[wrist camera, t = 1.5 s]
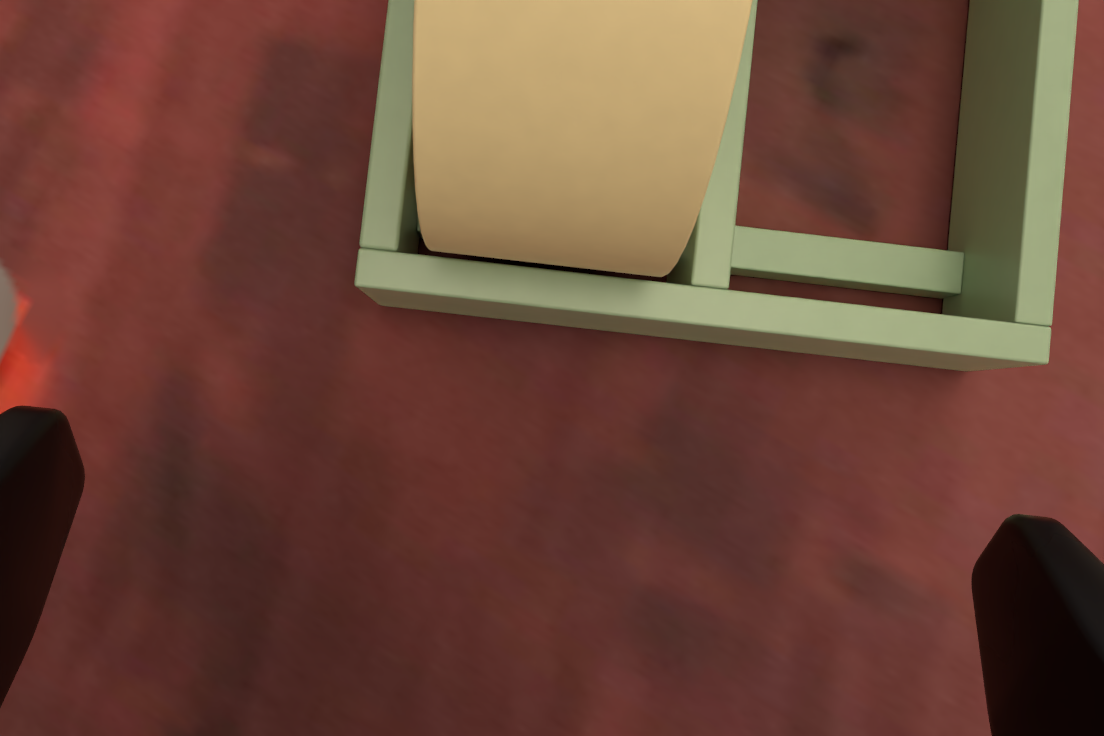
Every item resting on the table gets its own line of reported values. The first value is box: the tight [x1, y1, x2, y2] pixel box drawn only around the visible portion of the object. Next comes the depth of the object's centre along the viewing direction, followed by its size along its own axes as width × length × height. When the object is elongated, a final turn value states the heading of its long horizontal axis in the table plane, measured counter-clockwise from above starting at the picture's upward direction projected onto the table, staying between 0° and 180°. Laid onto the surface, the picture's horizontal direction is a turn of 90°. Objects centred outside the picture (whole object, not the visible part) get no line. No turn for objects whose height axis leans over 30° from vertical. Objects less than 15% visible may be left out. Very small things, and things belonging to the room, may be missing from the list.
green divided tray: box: [354, 0, 1079, 371], centre depth 21 cm, size 12×14×4 cm
